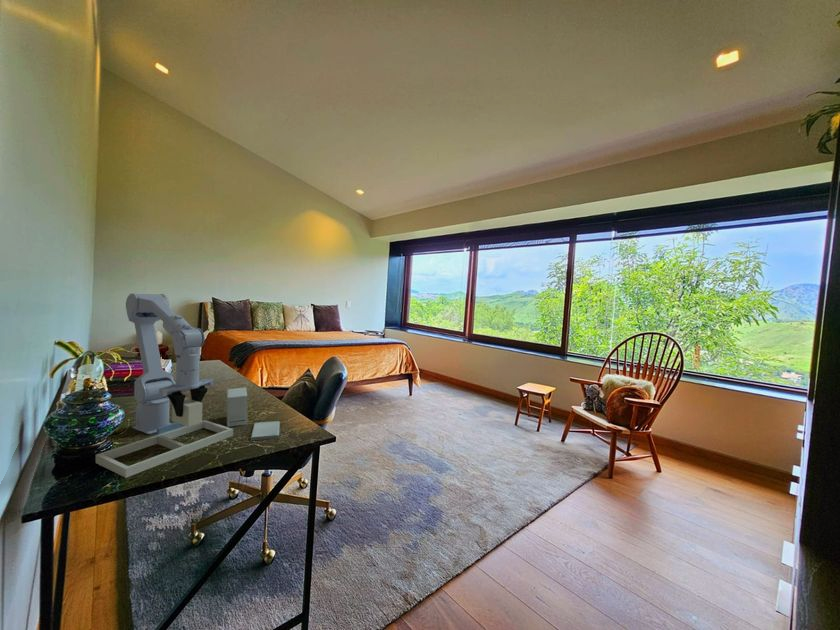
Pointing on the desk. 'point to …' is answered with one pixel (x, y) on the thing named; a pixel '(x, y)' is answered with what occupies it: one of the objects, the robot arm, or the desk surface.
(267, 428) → the hard drive
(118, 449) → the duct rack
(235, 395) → the skincare box
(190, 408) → the cream rectangular block
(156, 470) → the desk surface
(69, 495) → the desk surface
